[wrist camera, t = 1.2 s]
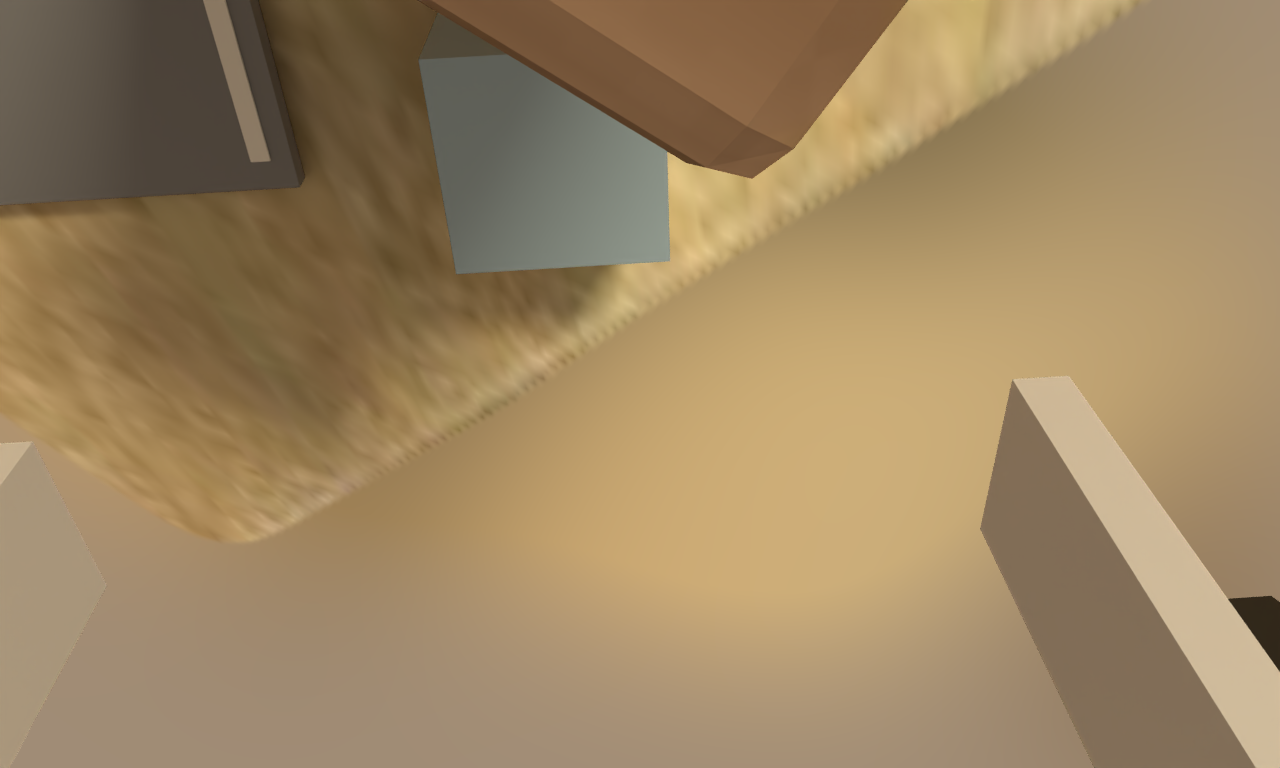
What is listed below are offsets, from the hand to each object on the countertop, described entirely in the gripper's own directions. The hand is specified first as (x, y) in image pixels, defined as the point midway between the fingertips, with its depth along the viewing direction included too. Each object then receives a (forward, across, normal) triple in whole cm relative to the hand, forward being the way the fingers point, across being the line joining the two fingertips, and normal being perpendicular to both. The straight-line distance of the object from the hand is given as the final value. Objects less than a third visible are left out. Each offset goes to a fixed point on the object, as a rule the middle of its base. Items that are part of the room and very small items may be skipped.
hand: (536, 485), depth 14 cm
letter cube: (+15, 0, +1) cm, 15 cm away
